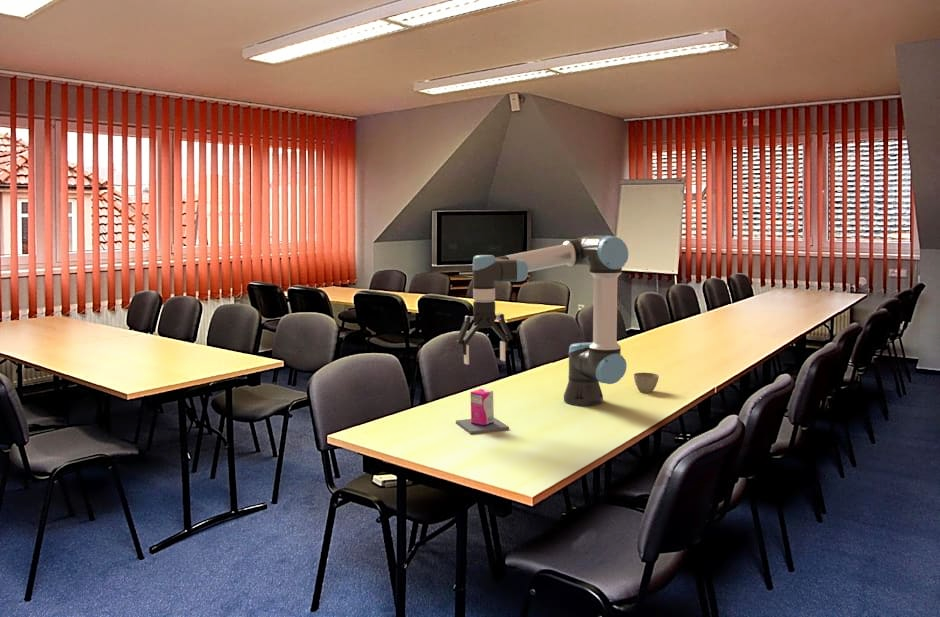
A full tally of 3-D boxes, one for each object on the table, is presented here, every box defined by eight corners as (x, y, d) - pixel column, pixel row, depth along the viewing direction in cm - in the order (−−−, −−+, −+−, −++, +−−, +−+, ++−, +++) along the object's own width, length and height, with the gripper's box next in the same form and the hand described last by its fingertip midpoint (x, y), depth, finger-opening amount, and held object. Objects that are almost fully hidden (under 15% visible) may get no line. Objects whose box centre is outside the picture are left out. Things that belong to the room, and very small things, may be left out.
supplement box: (481, 420, 258) (481, 388, 256) (494, 423, 254) (494, 390, 252) (470, 423, 253) (470, 391, 252) (483, 427, 249) (483, 394, 248)
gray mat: (492, 419, 263) (492, 416, 262) (509, 429, 250) (509, 426, 249) (455, 423, 257) (455, 420, 257) (470, 434, 244) (470, 431, 244)
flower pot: (661, 390, 304) (662, 373, 303) (653, 396, 296) (654, 378, 295) (638, 387, 310) (638, 371, 309) (629, 392, 301) (630, 375, 300)
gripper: (512, 297, 258) (512, 356, 261) (445, 301, 249) (446, 363, 252) (522, 299, 251) (522, 360, 254) (454, 304, 242) (455, 367, 245)
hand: (484, 362), depth 253 cm, fingers open, 13 cm apart
